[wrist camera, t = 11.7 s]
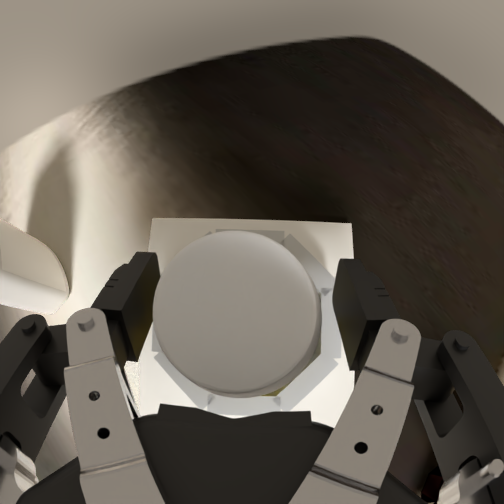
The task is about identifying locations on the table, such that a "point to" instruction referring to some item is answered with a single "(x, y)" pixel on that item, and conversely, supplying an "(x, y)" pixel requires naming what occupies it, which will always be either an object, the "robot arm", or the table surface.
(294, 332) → the supplement bottle
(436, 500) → the cat figurine
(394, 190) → the table surface
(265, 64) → the table surface
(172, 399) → the barrel socket
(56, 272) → the eye dropper bottle
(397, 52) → the table surface
